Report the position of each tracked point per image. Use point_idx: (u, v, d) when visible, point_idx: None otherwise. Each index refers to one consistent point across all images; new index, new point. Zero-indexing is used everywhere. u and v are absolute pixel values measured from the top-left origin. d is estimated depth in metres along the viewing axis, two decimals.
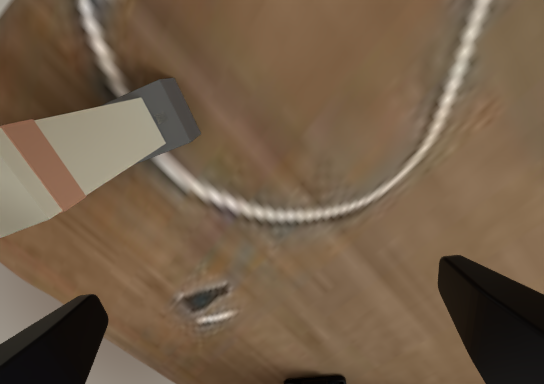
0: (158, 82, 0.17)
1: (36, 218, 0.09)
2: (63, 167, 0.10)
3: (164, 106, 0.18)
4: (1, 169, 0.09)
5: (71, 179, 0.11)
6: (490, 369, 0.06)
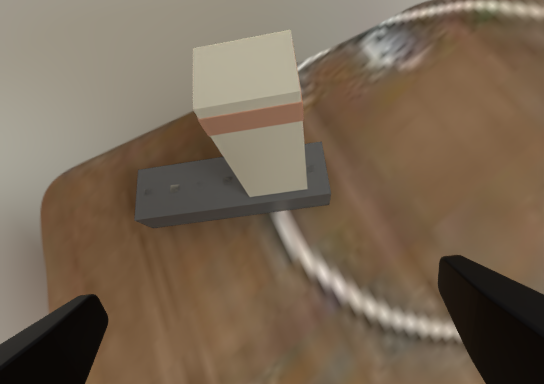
0: (319, 143, 0.21)
1: (289, 89, 0.10)
2: None
3: (317, 160, 0.20)
4: (286, 52, 0.11)
5: None
6: (490, 369, 0.06)
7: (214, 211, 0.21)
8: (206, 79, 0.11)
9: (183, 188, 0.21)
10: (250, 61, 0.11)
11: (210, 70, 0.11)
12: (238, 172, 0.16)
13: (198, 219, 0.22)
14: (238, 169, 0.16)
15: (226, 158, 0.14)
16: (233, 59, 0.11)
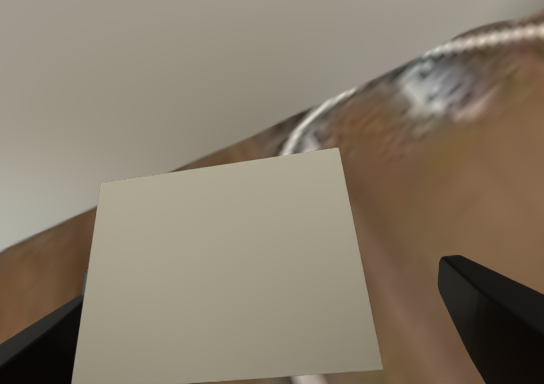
0: None
1: (346, 355, 0.04)
2: None
3: None
4: (331, 217, 0.04)
5: None
6: (490, 369, 0.06)
7: None
8: (119, 285, 0.04)
9: None
10: (235, 238, 0.04)
11: (132, 256, 0.04)
12: None
13: None
14: None
15: None
16: (192, 226, 0.04)
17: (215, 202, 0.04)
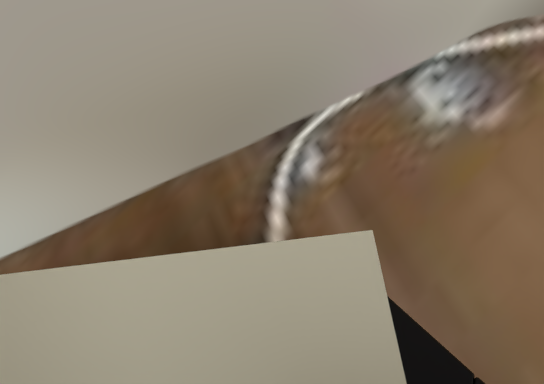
0: None
1: None
2: None
3: None
4: (364, 367, 0.02)
5: None
6: None
7: None
8: None
9: None
10: None
11: None
12: None
13: None
14: None
15: None
16: (128, 368, 0.03)
17: (168, 322, 0.03)
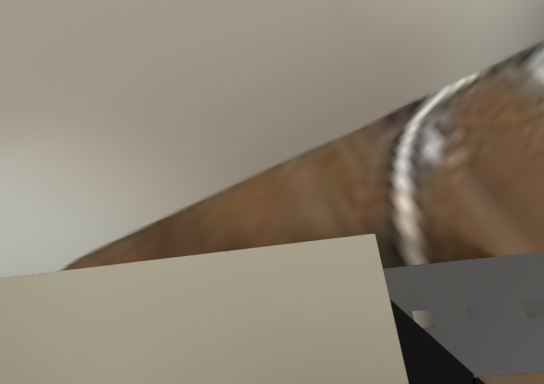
0: (538, 255, 0.11)
1: None
2: None
3: (543, 292, 0.11)
4: (367, 372, 0.02)
5: None
6: None
7: None
8: None
9: None
10: None
11: None
12: None
13: None
14: None
15: None
16: (129, 373, 0.03)
17: (169, 327, 0.03)
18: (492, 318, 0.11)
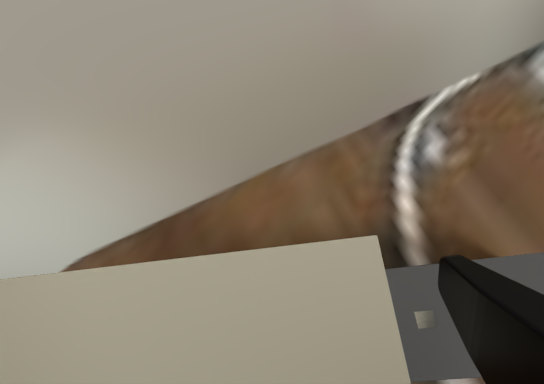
0: (540, 256, 0.11)
1: None
2: None
3: None
4: (370, 374, 0.02)
5: None
6: (490, 369, 0.06)
7: None
8: None
9: None
10: None
11: None
12: None
13: None
14: None
15: None
16: (131, 374, 0.03)
17: (171, 328, 0.03)
18: None
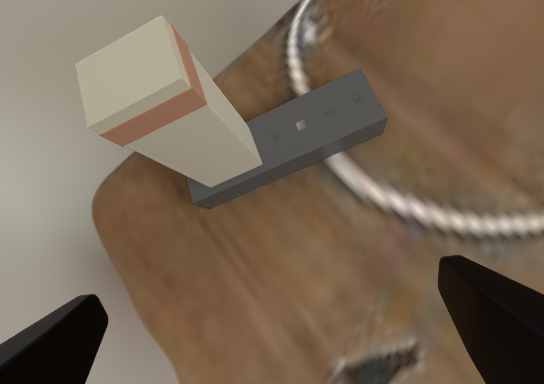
0: (359, 69, 0.19)
1: (171, 79, 0.10)
2: (197, 77, 0.12)
3: (362, 88, 0.19)
4: (161, 40, 0.11)
5: (200, 90, 0.12)
6: (490, 369, 0.06)
7: (270, 171, 0.20)
8: (93, 92, 0.11)
9: None
10: (130, 61, 0.11)
11: (95, 82, 0.11)
12: (181, 169, 0.16)
13: (253, 186, 0.21)
14: (178, 167, 0.16)
15: (158, 160, 0.14)
16: (114, 63, 0.11)
17: (120, 52, 0.11)
18: (337, 111, 0.19)
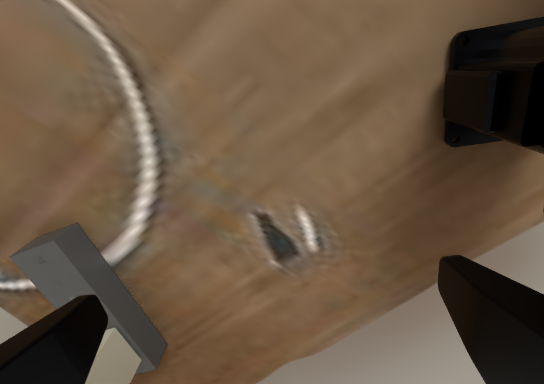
0: (12, 257, 0.21)
1: None
2: None
3: (29, 256, 0.21)
4: None
5: None
6: (490, 369, 0.06)
7: (121, 319, 0.23)
8: None
9: None
10: None
11: None
12: None
13: (141, 319, 0.25)
14: None
15: None
16: None
17: None
18: (56, 275, 0.21)
